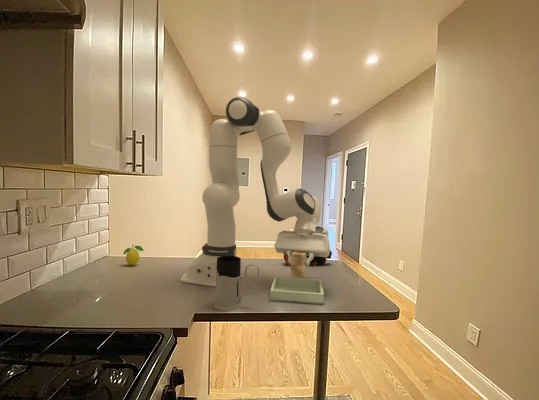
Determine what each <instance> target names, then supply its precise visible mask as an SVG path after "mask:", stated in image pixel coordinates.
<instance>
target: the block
mask: <svg viewBox="0 0 539 400" xmlns="http://www.w3.org/2000/svg"><path fill="white" fill-rule="evenodd" d="M305 259H307V253H306V252H295V251H294V252H293V253H292V254H291V266H290V278H303V279H305V277H306V275H307V265H305V264H304V262H305Z"/></svg>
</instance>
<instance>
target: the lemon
mask: <svg viewBox="0 0 539 400" xmlns="http://www.w3.org/2000/svg"><path fill="white" fill-rule="evenodd" d="M139 251H140V252H143V251H145V250H144V248H143V247H142V246H140V245H133V246H132V247H128V248H125V249H124V251H123V255H125V261H126V263H127V264H128V265H130V266H132V267H133V266H134V265H136V264H138V263H139V260H140V254H139Z"/></svg>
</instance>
